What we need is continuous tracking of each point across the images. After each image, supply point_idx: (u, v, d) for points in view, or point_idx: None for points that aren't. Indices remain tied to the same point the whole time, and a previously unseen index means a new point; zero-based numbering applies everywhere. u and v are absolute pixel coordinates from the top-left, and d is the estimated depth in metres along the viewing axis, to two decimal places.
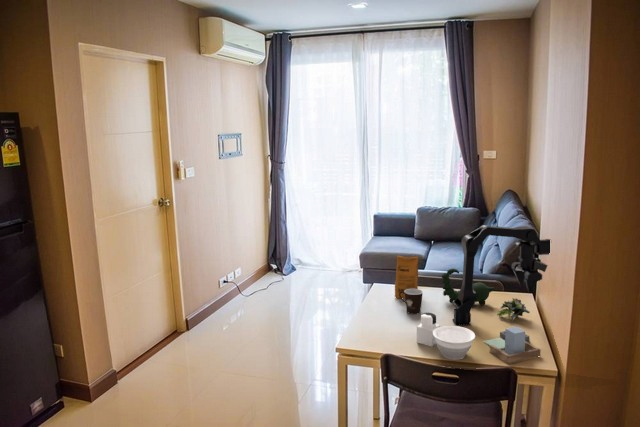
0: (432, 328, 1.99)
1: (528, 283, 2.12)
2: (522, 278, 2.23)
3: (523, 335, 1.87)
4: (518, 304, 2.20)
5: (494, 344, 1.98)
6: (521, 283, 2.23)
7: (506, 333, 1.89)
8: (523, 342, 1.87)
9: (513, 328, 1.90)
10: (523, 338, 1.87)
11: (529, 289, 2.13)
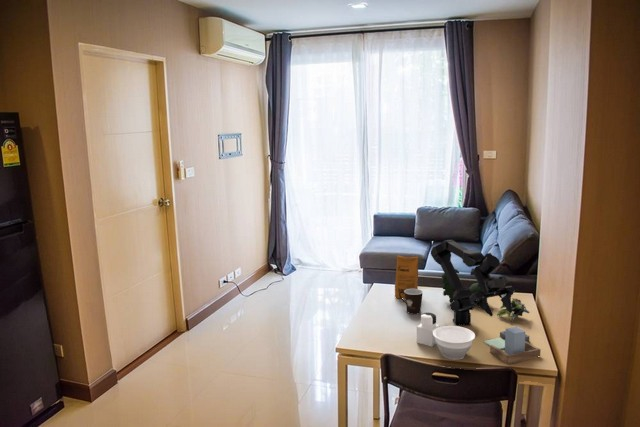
0: (432, 328, 1.99)
1: (481, 307, 1.97)
2: (507, 303, 1.98)
3: (523, 335, 1.87)
4: (518, 304, 2.20)
5: (494, 344, 1.98)
6: (509, 309, 1.97)
7: (506, 333, 1.89)
8: (523, 342, 1.87)
9: (513, 328, 1.90)
10: (523, 338, 1.87)
11: (487, 312, 1.95)
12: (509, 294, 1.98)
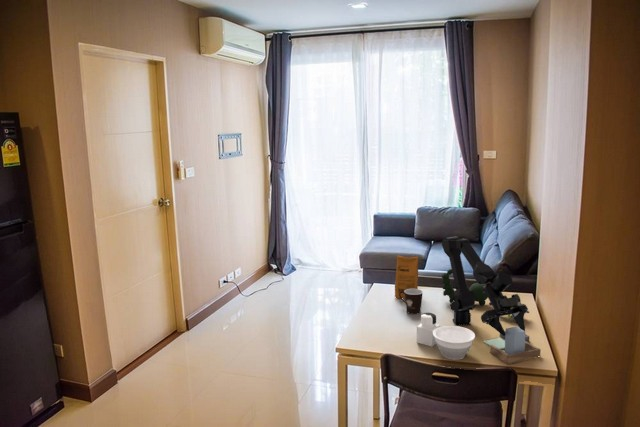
0: (432, 328, 1.99)
1: (493, 326, 1.90)
2: (520, 322, 1.92)
3: (523, 335, 1.87)
4: (518, 304, 2.21)
5: (494, 344, 1.98)
6: (522, 328, 1.91)
7: (506, 333, 1.89)
8: (523, 342, 1.87)
9: (513, 328, 1.90)
10: (523, 338, 1.87)
11: (500, 332, 1.88)
12: (522, 313, 1.92)
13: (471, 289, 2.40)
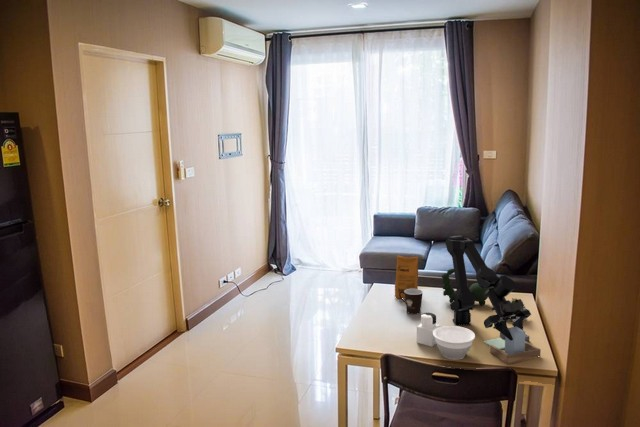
0: (432, 328, 1.99)
1: (500, 330, 1.90)
2: None
3: (523, 335, 1.87)
4: None
5: (494, 344, 1.98)
6: None
7: None
8: (523, 342, 1.87)
9: (513, 328, 1.90)
10: (523, 338, 1.87)
11: (507, 336, 1.88)
12: (521, 319, 1.90)
13: (471, 289, 2.40)
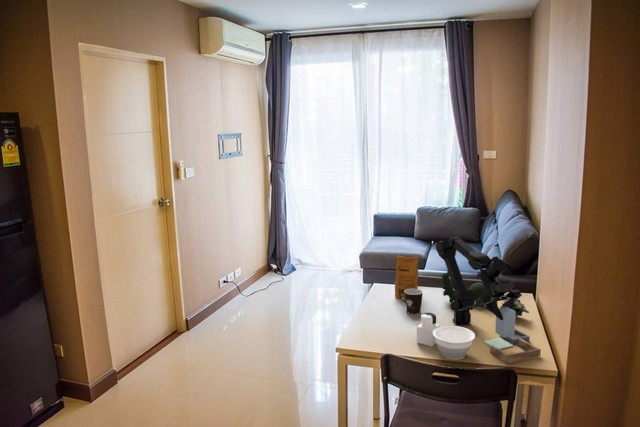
0: (432, 328, 1.99)
1: (491, 310, 1.94)
2: (510, 308, 1.94)
3: (513, 315, 1.91)
4: (517, 304, 2.21)
5: (494, 344, 1.98)
6: None
7: None
8: (513, 322, 1.91)
9: (504, 308, 1.94)
10: (513, 318, 1.91)
11: (498, 316, 1.92)
12: (512, 299, 1.94)
13: (471, 289, 2.40)
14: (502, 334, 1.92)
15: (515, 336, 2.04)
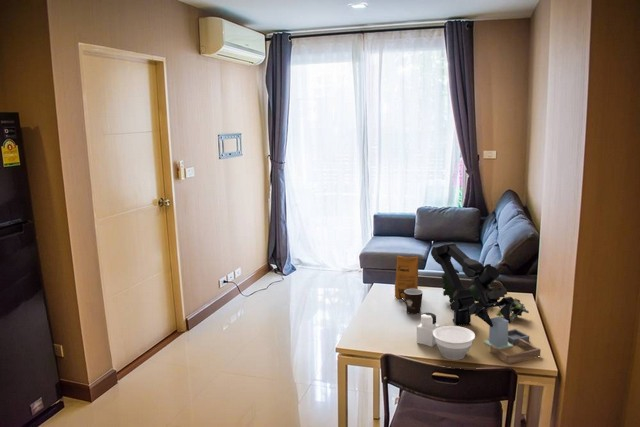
0: (432, 328, 1.99)
1: (481, 317, 1.98)
2: (506, 314, 1.99)
3: (506, 324, 1.95)
4: (517, 304, 2.21)
5: None
6: None
7: None
8: (506, 331, 1.96)
9: (497, 318, 1.98)
10: (506, 327, 1.95)
11: (488, 323, 1.96)
12: (508, 305, 1.99)
13: (471, 289, 2.40)
14: (495, 343, 1.96)
15: (515, 336, 2.04)
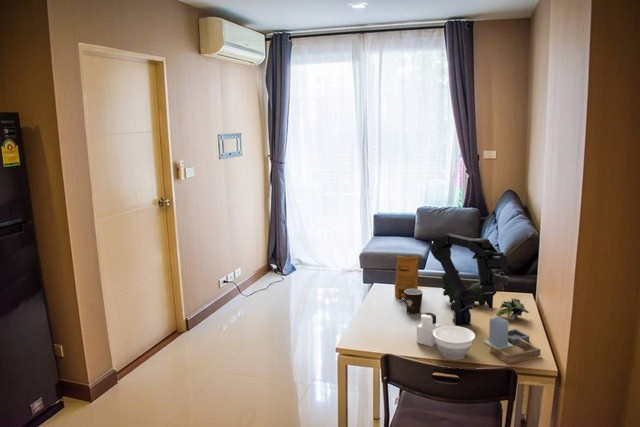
0: (432, 328, 1.99)
1: (485, 297, 2.00)
2: None
3: (506, 324, 1.95)
4: (517, 304, 2.21)
5: None
6: None
7: (490, 323, 1.98)
8: (506, 331, 1.96)
9: (497, 318, 1.98)
10: (506, 327, 1.95)
11: (488, 304, 2.00)
12: None
13: (471, 289, 2.40)
14: (495, 343, 1.96)
15: (515, 336, 2.04)
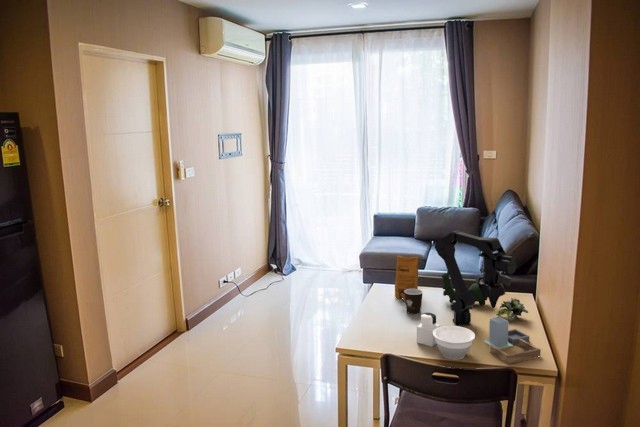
0: (432, 328, 1.99)
1: (491, 298, 2.00)
2: (486, 292, 2.11)
3: (506, 324, 1.95)
4: (517, 304, 2.21)
5: None
6: (485, 297, 2.11)
7: (490, 323, 1.98)
8: (506, 331, 1.96)
9: (497, 318, 1.98)
10: (506, 327, 1.95)
11: (492, 304, 2.02)
12: None
13: None
14: (495, 343, 1.96)
15: (515, 336, 2.04)
